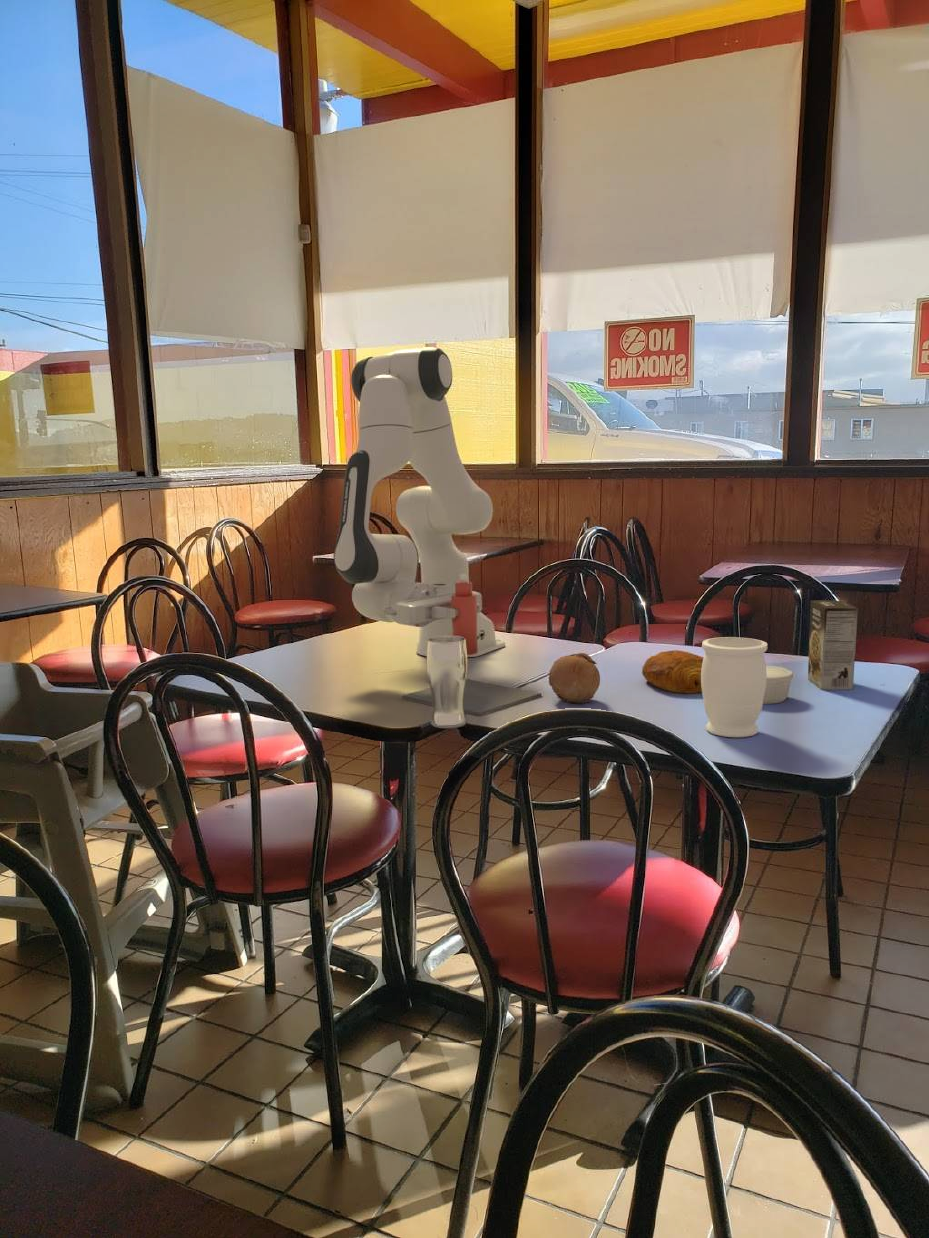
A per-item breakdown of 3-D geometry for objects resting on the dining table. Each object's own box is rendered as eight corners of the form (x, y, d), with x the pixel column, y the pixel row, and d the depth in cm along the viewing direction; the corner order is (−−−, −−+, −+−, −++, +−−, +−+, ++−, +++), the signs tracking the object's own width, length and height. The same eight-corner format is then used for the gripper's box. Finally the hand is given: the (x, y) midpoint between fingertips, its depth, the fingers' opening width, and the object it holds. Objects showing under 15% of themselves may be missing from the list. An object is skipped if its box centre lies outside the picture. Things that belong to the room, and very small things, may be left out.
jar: (701, 720, 164) (703, 635, 162) (764, 724, 161) (767, 637, 159) (698, 738, 154) (700, 647, 152) (765, 742, 151) (768, 650, 149)
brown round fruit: (587, 712, 182) (606, 663, 183) (590, 712, 173) (610, 660, 173) (540, 693, 183) (559, 645, 184) (541, 692, 174) (561, 641, 174)
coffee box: (806, 679, 192) (809, 600, 189) (838, 678, 192) (842, 599, 189) (820, 690, 183) (823, 607, 180) (854, 689, 183) (858, 606, 180)
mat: (464, 681, 196) (464, 678, 196) (541, 696, 183) (541, 693, 183) (401, 698, 183) (401, 695, 183) (479, 715, 170) (479, 712, 170)
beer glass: (464, 730, 161) (462, 643, 159) (424, 728, 163) (421, 642, 160) (472, 718, 168) (470, 635, 166) (433, 717, 170) (431, 634, 167)
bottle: (464, 648, 186) (462, 572, 183) (482, 651, 182) (481, 574, 180) (447, 652, 182) (445, 575, 180) (465, 656, 179) (464, 577, 176)
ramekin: (716, 697, 180) (717, 670, 179) (753, 688, 186) (754, 661, 185) (766, 709, 171) (767, 680, 170) (804, 699, 177) (805, 671, 176)
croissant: (663, 708, 181) (665, 668, 179) (632, 678, 196) (633, 642, 193) (733, 700, 184) (736, 661, 182) (697, 672, 199) (699, 635, 196)
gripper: (376, 595, 181) (428, 601, 172) (450, 582, 196) (501, 588, 187) (378, 627, 183) (429, 636, 173) (451, 612, 197) (502, 619, 188)
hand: (467, 611), depth 180 cm, fingers closed on bottle, 5 cm apart
